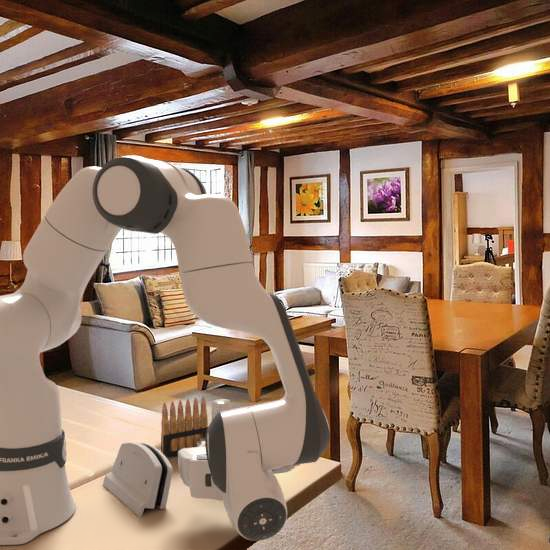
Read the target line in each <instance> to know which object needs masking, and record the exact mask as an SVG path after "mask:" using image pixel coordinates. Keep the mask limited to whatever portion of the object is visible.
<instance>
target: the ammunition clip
mask: <svg viewBox="0 0 550 550" xmlns="http://www.w3.org/2000/svg"><path fill="white" fill-rule="evenodd" d="M200 400H201V401H200V408H199V402H198V401H199V400H198V398H197V397H196V396H195V397H194V399H193V404H192V407H191V403H190V400H189V398H187V399H186V401H185V412H184V406H183V403H182V402H183V401H182V400H181V399H179V401H178V404H177V414H176V406H175V402H174V400H172V401H171V403H170V407H169V411H168V406H167V404H166V402H163V404H162V409H161V421H160V422H161V425H160V426H161V434H160V436H161V437H160V440H161V441H160V451H161V452H162V453H163V454H164V455H165V457H166V458H167V459H168V458H169V459H170V458H174V457H178V451H179V450H181V449H183V448H192V447H196V439H197V438H205V435H206V431H207V429H208V427H209V425H208V424H209V422H208V412H207V403H206V402H207V401H206V398H205V396H202V397H201V399H200ZM191 408H192V410H191ZM199 409H200V410H199ZM168 412H169V413H168ZM184 413H185V414H184Z"/></svg>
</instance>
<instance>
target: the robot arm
mask: <svg viewBox="0 0 550 550" xmlns="http://www.w3.org/2000/svg"><path fill="white" fill-rule="evenodd" d="M121 230H125V231H131V232H139V233H149V234H152V235H156V234H159V233H161V234H162V235H164V236H166V237H168V238H169V240H170V241H171V243H172V245H173V246H174V249H175V253H176V259H177V265H178V273H179V278H180V284H181V285H180V286H181V288H182V293H183V297H184V300H185V303H186V306H187V307H188V309H189V311H190V312H191V313H192V314H193V315H194V316H195V317H196V318H197V319H200V321H202V322H204V323H207V324H209V325H211V326H213V327H218V328H222V329H225V330H226V329H227V330H231V331H236V332H237V331H238V332H242V333H246V334H251V335H252V336H256V337H257V338H260V339H261V340H263V341H264V342H265V344H267V346H268V347H269V348H270V352H271V354H272V357H273V360H274V363H275V366H276V368H277V371H278V374H279V377H280V380H281V383H282V386H283V389H284V392H285V393H284V396H283V397H282V398H281V399H277V400H273V401H268V402H263V403H259V404H254V405H246V406H241V407H237V408H233V409H232V408H231V410H227V411H223V412H219V413H217V414H216V416H215V417H214V418H213V420H212V419H211V421H210V423H209V425H208V429H207V431H206V435H205V441H201V445H200V446H198V447H192V448H183V449H181V450H179V451H178V456H177V468H178V474H179V476H180V479H181V481H182V482H183V484H184V485H185V486H186V487H188V488H189V492H190V497H192V498H194V499H205V500H217V501H220V502H222V503H223V505H224V508H225V512H226V515H227V517H228V519H229V521H230V523H231V524H232V526H233V529H234V530H235V531H236V532H237V533H238V534H239V535H240V536H241V537H242V538H244V539H245V540H247V541H248V540H249V541H252V542H258V541H264V540H268V539H270V538H273V537H274V536H275V535H277V534H278V533H279V532H280V531H281V530H282V529H283V528H284V526H285V524H286V522H287V518H288V507H287V502H286V498H285V495H284V494H285V493H284V492H283V490H282V486H281V484H280V482H279V481H278V479H277V477H276V475H277V474H285V473H289V472H291V471H292V470H294V469H295V468H296V467H298V466H299V467H300V465H303V464H304V465H305V464H310V463H315V462H316V463H317V461H318V460H319V459H320V458H321V456H323V454H324V453H325V451H326V449H327V448H328V446H329V444H330V441H331V430H330V425H329V421H328V418H327V416H326V415H327V414H325V412H324V408H323V407H322V405H321V403H320V400H319V398H318V396H317V394H316V390H315V388H314V385H313V382H312V379H311V376H310V373H309V372H308V368H307V365H306V362H305V360H304V356H303V353H302V350H301V348H300V345H299V342H298V339H297V337H296V334H295V330H294V327H293V325H292V323H291V320H290V318H289V317H290V316H289V314H288V313H287V310H286V308H285V306H284V305H283V303H282V301H281V300H280V298H279V297H278V295H276V294H273V293H271V292H268V291H267V290H266V289H265V288H264V286H263V284H262V283H261V282H260V280H259V279H258V276H257V273H256V271H255V267H254V263H253V256H252V252H251V248H250V242H249V240H248V235H247V231H246V229H245V225H244V221H243V218H242V216H241V213H240V211H239V208H238V206H237V205H236V203H235V202H234V201H233V200H232V199H230V198H229V197H227V196H226V195H225V196H224V195H222V194H217V193H207V191H206V188H205V186H204V184H203V183H202V181H201V180H200V178H199V177H198V176H196V175H195V174H194V173H192V172H191V171H190V170H188V169H186V168H183V167H180V166H178V165H176V164H172V163H171V162H168V161H165V160H161V159H159V160H157V159H156V160H155V159H151V158H146V157H143V156H140V155H123V156H118V157H114V158H112V159H110V160H108V161H107V162H105V163H104V164H103V165H102V166H86V167H82V168H81V169H79V170H78V171H77V172H76V173H75V174H74V176H72V177H71V179H69V181H68V182H67V183H66V184H65V186H64V187H63V188H62V189H61V191H60V192H59V193H58V194H57V196H56V197H55V199H54V200H53V201H52V203H51V205H50V206H49V208H48V209H47V210H46V212H45V214H44V216H43V218H42V219H41V221H40V223H39V224H38V226H37V228H36V230H35V231H34V233H33V235H32V237H31V238H30V240H29V242H28V244H27V245H26V247H25V249H24V251H23V255H22V260H23V263H24V266H25V268H26V269H27V270H26V271H27V272H26V275H25V278H24V281H23V283H22V285H21V286H20V288H18V289H16V291H14V292H13V293H9V294H3V295H0V546H6V545H7V546H9V545H13V546H15V545H23V544H27V543H28V542H30V541H32V540H33V539H35V538H37V537H38V536H39V535H41V534H43V533H45V532H47V531H50V530H52V529H54V528H56V527H58V526H61V524H64V523H65V522H66V521H67V520H69V519H70V518H71V517H72V516H73V515H74V513H75V511H76V509H77V508H76V507H77V505H76V502H75V500H74V498H73V495H72V492H71V488H70V484H69V480H68V474H67V471H66V463H67V458H68V457H67V441H66V440H67V439H66V437H65V436H66V435H65V431H64V429H63V426H62V410H61V409H62V408H61V407H62V406H61V392H60V388H59V386H58V385H57V384H56V383H55V382H54V381H53V380H50V379H48V377H46V375H45V372H44V369H43V367H42V364H41V359H40V354H42V353H44V352H46V351H49V350H51V349H54V348H57V347H59V346H61V345H62V344H64V343H65V342H66V341H68V340H70V338H72V337H73V336H74V335H75V334H76V333H77V332H78V330H79V328H80V327H81V324H82V320H83V319H82V317H83V315H82V309H81V306H80V305H81V302H82V298H83V295H84V293H85V290H86V289H87V286H88V283H89V282H90V280H91V278H92V277H93V275H94V273H95V272H96V270H97V268H98V267H99V265H100V264H101V262H102V260H103V258H104V257H105V256H106V254H107V252H108V250H109V249H110V247H111V246H112V244H113V242H114V240H115V239H116V237H117V236H118V234H119V233H120V232H121Z"/></svg>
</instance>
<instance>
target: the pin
mask: <svg viewBox="0 0 550 550" xmlns="http://www.w3.org/2000/svg"><path fill="white" fill-rule="evenodd" d="M210 405H211V421H212V420H213V418H214V417H215V416H216V414H217V413H219V412H223V411H227V410H232V401H231V400H230V399H225V398H219V399H215V400H212V401H211V404H210Z"/></svg>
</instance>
